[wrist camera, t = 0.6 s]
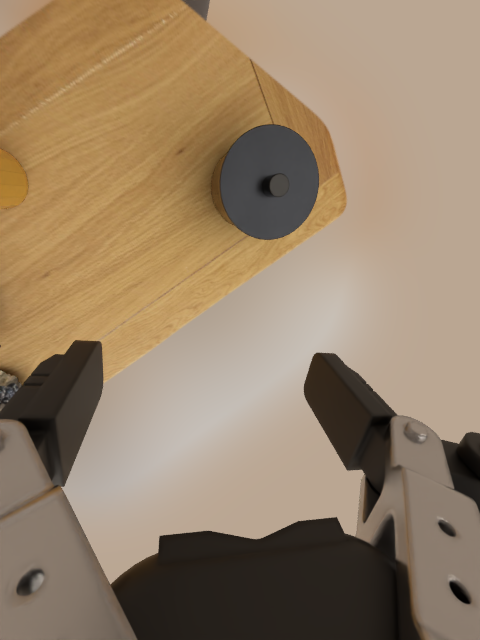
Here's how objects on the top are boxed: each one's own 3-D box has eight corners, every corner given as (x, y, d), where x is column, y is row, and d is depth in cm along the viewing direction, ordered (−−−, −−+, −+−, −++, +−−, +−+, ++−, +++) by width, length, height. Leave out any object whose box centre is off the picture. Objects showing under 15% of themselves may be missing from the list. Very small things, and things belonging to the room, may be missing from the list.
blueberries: (2, 366, 37) (15, 360, 39) (-33, 384, 40) (-19, 377, 41) (30, 407, 38) (42, 399, 40) (-5, 422, 41) (7, 414, 43)
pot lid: (220, 119, 25) (227, 108, 22) (322, 134, 28) (342, 126, 24) (216, 235, 29) (221, 240, 26) (305, 240, 32) (320, 245, 29)
